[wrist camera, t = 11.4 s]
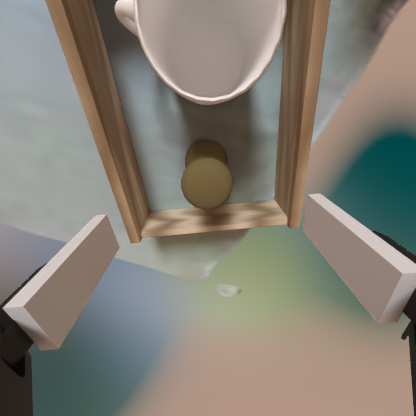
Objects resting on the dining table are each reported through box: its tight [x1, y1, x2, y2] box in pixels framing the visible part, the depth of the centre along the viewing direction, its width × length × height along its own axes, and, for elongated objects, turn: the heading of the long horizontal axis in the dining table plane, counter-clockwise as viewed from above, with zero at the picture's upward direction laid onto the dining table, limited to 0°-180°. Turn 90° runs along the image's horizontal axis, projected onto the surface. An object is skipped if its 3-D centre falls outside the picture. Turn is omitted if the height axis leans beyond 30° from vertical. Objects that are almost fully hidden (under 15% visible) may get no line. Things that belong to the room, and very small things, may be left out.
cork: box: [181, 140, 233, 209], centre depth 23 cm, size 6×6×11 cm
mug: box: [115, 0, 287, 105], centre depth 17 cm, size 10×12×12 cm
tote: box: [45, 0, 331, 243], centre depth 22 cm, size 22×28×7 cm
